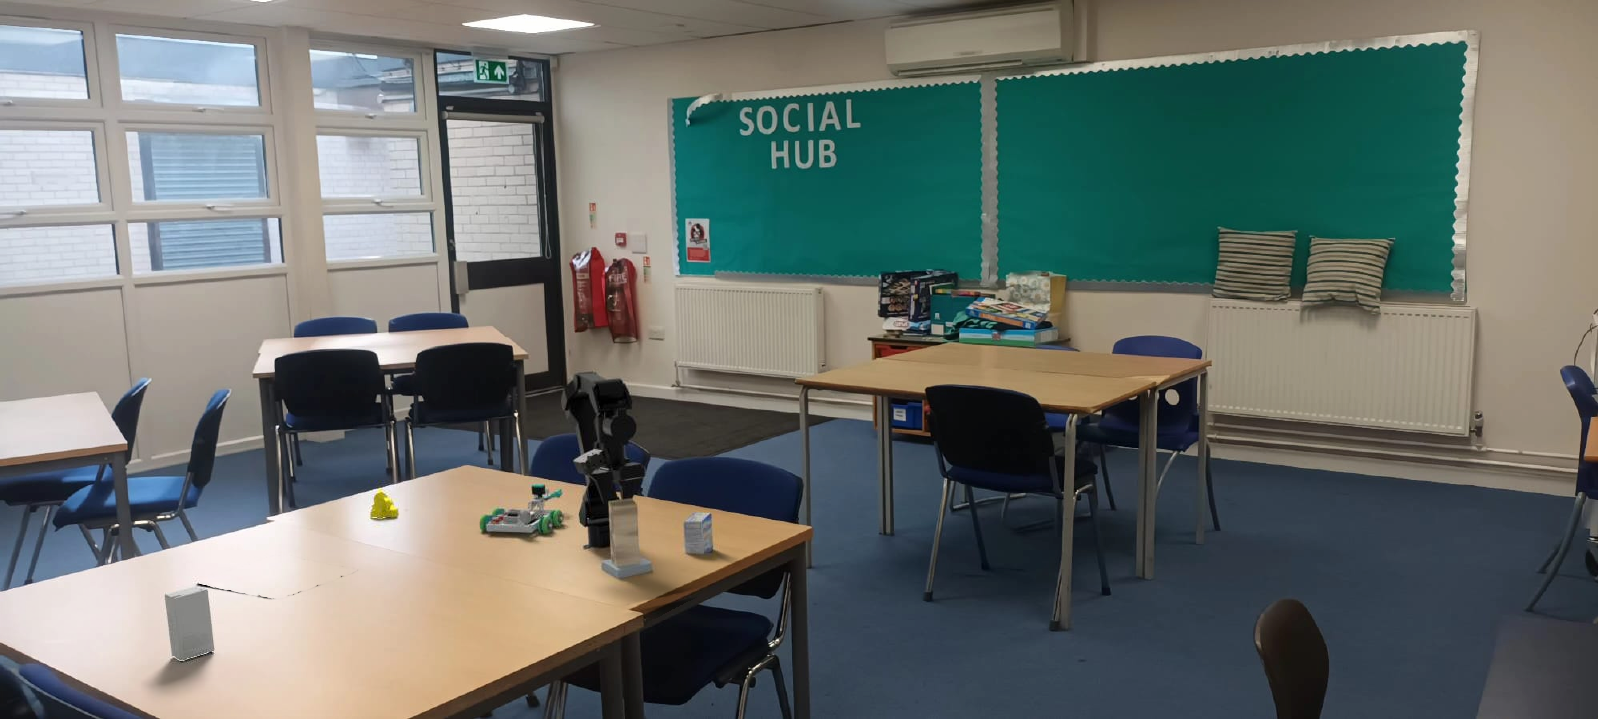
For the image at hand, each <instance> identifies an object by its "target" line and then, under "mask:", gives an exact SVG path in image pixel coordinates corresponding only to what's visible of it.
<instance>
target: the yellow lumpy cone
mask: <svg viewBox="0 0 1598 719" xmlns="http://www.w3.org/2000/svg"><path fill="white" fill-rule="evenodd" d="M394 505H395V504H394V501H393V499H392V498H391V497H388V495H387V494H386V493H385V492H384V491H383V490H382V489H381V487H379V489H378V491H377V492H376V494H375V495H374V496H373V504H372V505H371V511H370V518H371V517H377V518H383V517H396V518H398V517H399V516H398V515H399V508H396V507H395V506H394Z"/></svg>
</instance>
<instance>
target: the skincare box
mask: <svg viewBox="0 0 1598 719" xmlns="http://www.w3.org/2000/svg"><path fill="white" fill-rule="evenodd" d="M164 601H165V602H164V603H165V609H166V618H167V625H168V626H167V628H168V636H169V643H170V652H171V657H172V656H175V657H176V658H177V659H179V660H186V659H187V658H191V657H194V656H198V655H201V654H204V653H207V652H212V651H214V650H215V643H214V633H213V626H212V625H213V624H212V616H211V607H210V599H209V590H208V589H207V588H205V587H202V586H201V585H196V586H192V587H188V588H184V589H180V590H176V591H173V592H169V593H164ZM212 653H213V652H212Z"/></svg>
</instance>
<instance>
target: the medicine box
mask: <svg viewBox="0 0 1598 719" xmlns="http://www.w3.org/2000/svg"><path fill="white" fill-rule="evenodd" d="M712 518H713V517H712V513H711V512H694V513H693V514H691V515H690V516H689V517H688V518H687V519H686V520H685V521H684V522H683V538H684V540H683V541H684V553H685V554H695V555H696V554H697V555H704V554H705V553H708V554H710V552H711V551H712V550H713V549H714V538H713V537H714V536H713V535H714V534H713V521H712V520H713V519H712Z"/></svg>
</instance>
